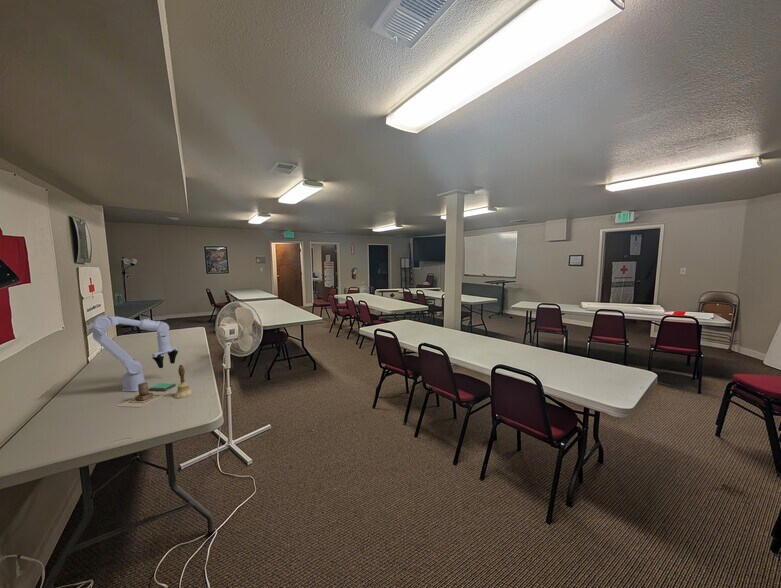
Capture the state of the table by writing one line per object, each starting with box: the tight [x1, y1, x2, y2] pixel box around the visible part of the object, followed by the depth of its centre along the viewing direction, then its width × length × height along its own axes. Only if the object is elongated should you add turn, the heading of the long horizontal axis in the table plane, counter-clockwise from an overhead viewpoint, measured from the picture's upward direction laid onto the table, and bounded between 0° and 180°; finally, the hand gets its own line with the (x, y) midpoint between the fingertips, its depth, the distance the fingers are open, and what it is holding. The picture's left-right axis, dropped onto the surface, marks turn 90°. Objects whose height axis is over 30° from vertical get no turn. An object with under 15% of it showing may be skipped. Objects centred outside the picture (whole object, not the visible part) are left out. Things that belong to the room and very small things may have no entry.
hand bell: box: [173, 364, 194, 399], centre depth 152 cm, size 8×8×16 cm
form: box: [117, 391, 170, 408], centre depth 149 cm, size 13×16×1 cm
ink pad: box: [148, 382, 177, 392], centre depth 162 cm, size 10×7×2 cm
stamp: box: [134, 382, 153, 401], centre depth 149 cm, size 5×5×8 cm
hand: (166, 365), depth 172 cm, fingers open, 7 cm apart
